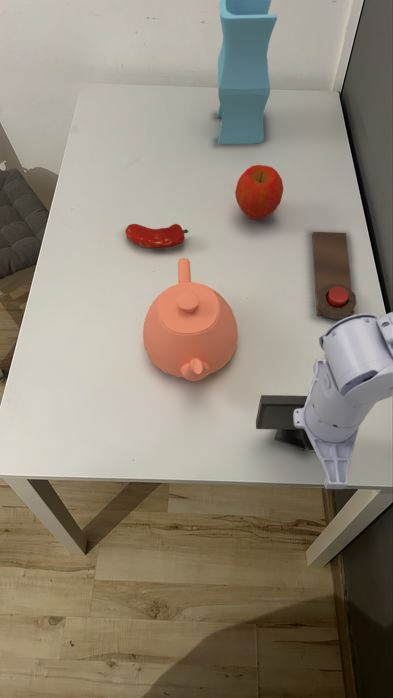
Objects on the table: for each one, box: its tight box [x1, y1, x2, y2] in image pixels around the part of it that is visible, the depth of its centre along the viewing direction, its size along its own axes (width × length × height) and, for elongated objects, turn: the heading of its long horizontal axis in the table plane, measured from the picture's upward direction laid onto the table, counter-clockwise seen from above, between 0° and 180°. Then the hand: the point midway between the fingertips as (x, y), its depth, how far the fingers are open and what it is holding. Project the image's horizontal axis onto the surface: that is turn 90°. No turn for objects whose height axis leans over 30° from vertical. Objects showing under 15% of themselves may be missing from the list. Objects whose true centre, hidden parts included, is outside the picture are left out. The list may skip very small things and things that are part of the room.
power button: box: [327, 286, 349, 307], centre depth 82 cm, size 3×3×2 cm
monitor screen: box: [255, 394, 308, 430], centre depth 66 cm, size 1×12×9 cm, turn 89°
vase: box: [217, 0, 278, 145], centre depth 97 cm, size 10×10×25 cm
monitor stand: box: [274, 429, 307, 452], centre depth 71 cm, size 5×5×7 cm
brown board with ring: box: [311, 231, 357, 320], centre depth 87 cm, size 19×6×2 cm, turn 176°
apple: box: [234, 164, 284, 221], centre depth 91 cm, size 9×8×11 cm
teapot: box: [142, 257, 239, 382], centre depth 77 cm, size 22×15×12 cm
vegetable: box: [124, 223, 189, 250], centre depth 92 cm, size 4×5×12 cm
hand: (315, 445), depth 62 cm, fingers closed
